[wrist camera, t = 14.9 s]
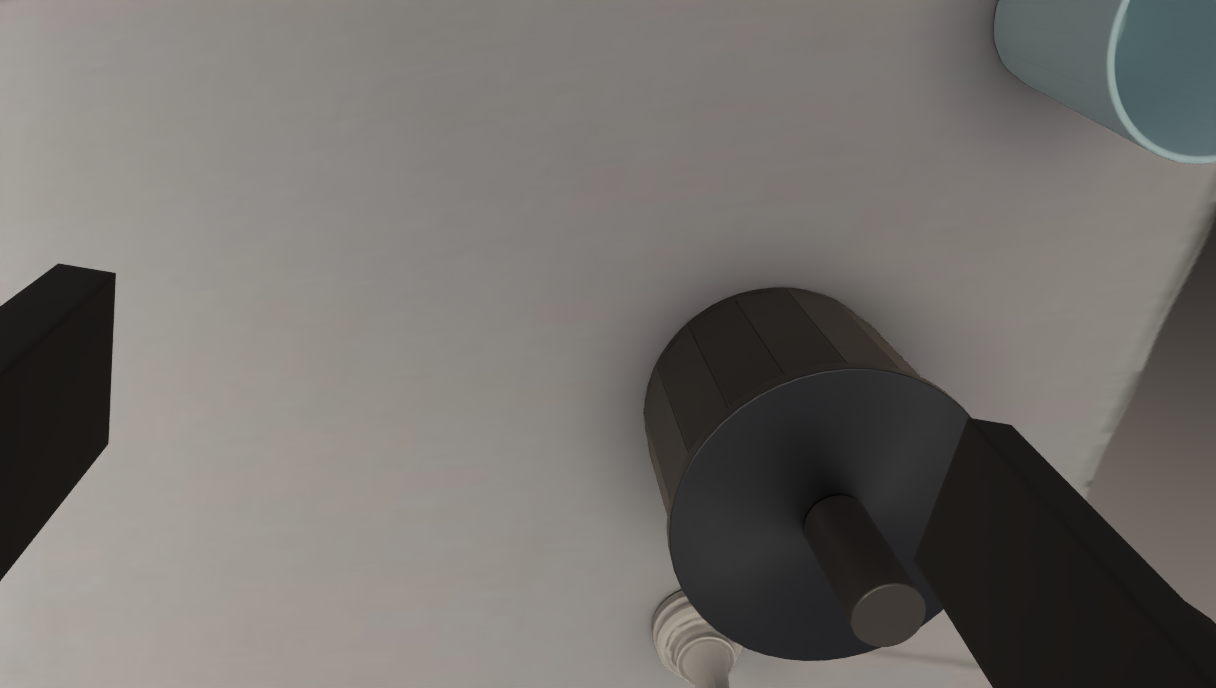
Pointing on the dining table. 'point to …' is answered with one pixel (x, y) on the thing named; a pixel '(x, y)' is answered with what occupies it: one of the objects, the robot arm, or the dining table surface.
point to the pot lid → (815, 510)
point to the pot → (746, 362)
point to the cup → (1122, 66)
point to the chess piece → (692, 644)
